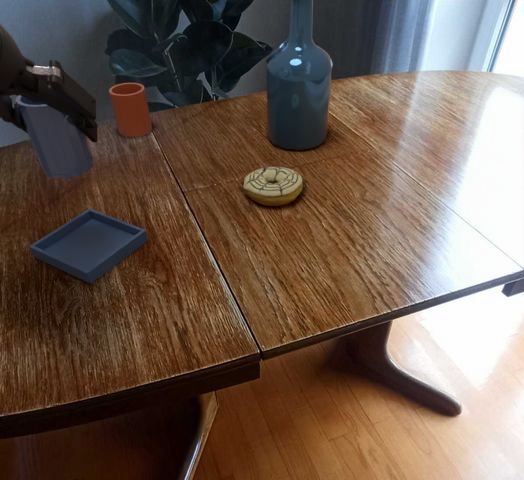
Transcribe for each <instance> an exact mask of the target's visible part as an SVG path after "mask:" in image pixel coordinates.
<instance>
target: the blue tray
mask: <svg viewBox="0 0 524 480" xmlns="http://www.w3.org/2000/svg"><path fill="white" fill-rule="evenodd" d="M148 241H149V236H148V232H147V230H146V229H144V228H142V227H139V226H138V225H137V226H136V225H134V224H133V223H132V224H131V223H129V222H126V221H124V220H122V219H118V218H116V217H113V216H111V215H108V214H106V213H103V212H100V211H98V210H95V209H93V208H91V207H89V208H88V209H87V210H84V211H83V212H81V213H80V214H78V215H77V216H75V217H73V218H72V219H70V220H69V221H67V222H66V223H64V224H62V225H61V226H59V227H57V228H56V229H55V230H53V231H51V232H50V233H48V234H46V235H45V236H43V237H42V238H40V239H39V240H37V241H35V242H34V243H32V244H30V245H29V246H28V248H29V250H30V252H31V254H32V256H33V258H35V259H36V260H40V261H42V262H43V263H46V264H48V265H50V266H52V267H54V268H56V269H58V270H60V271H63V272H64V273H66V274H69V275H71V276H73V277H75V278H77V279H80V280H82V281H84V282H86V283H88V284H90V285H92V284H93V283H94V282H95V281H97V280H98V279H99V278H101V277H103V276H104V275H105V274H106V273H108V272H109V271H110V270H112V269H113V268H114V267H116V266H117V265H119V264H120V263H121V262H123V260H125V259H126V258H127V257H130V255H132V254H133V253H134V252H135V251H137V250H139V248H141V247H142V246H144V245H145V244H146V243H148Z"/></svg>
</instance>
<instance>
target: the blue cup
mask: <svg viewBox="0 0 524 480" xmlns="http://www.w3.org/2000/svg"><path fill="white" fill-rule="evenodd" d="M15 104H17V106H18V109H19V112H20V114H21V117H22V119H23V122H24V124H25V127H26V129H27V132H28V134H27V135H28V137H29V140H30V142H31V145H32V148H33V150H34V152H35V154H36V157H37V160H38V162H39V165H40V168H41V169H42V171H43V174H44V175H45V176H47V177H49V178H53V179H70V178H75V177H78V176H81V175H84V174H85V173H87V172H89V171H90V170H91V169H92V168H93V166H94V160H93V155H92V152H91V148H90V145H89V141H88V137H87V136H86V135H85V134H84V133H83V132H81V131H80V130H79V129H78V128H77V127H76V126H75V125H74V124H73V118H71V117H69V116H67V115H65V114H63V113H61V112H59V111H57V110H55V109H53V108H52V107H50V106H48V105H46V104H44V103H42V102H38V103H34V102H32V101H30V100H28V99H26V98H24V97H22V96H20V95H18V96H16V98H15Z"/></svg>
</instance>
